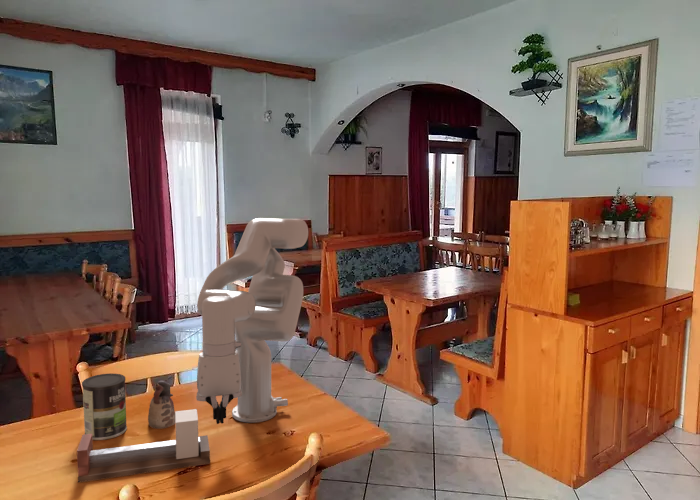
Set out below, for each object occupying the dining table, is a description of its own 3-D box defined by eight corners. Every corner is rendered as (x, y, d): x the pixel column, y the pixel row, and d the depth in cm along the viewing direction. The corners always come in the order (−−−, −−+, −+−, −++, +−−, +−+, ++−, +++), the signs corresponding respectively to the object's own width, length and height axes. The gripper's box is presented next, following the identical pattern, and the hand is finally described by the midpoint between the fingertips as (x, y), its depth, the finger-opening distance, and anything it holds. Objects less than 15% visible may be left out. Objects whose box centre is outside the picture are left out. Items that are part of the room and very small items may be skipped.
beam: (199, 448, 129) (199, 436, 129) (200, 453, 127) (200, 441, 127) (91, 463, 122) (90, 450, 121) (89, 468, 120) (89, 455, 119)
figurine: (181, 419, 148) (180, 378, 146) (165, 430, 141) (164, 387, 139) (159, 415, 150) (158, 374, 148) (142, 426, 143) (141, 383, 142)
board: (207, 445, 133) (207, 419, 132) (210, 463, 125) (209, 435, 124) (84, 462, 124) (83, 433, 124) (77, 482, 116) (76, 452, 115)
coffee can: (135, 424, 144) (133, 374, 142) (110, 442, 134) (108, 389, 132) (101, 420, 146) (99, 371, 144) (75, 438, 136) (72, 385, 134)
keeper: (197, 443, 131) (196, 409, 130) (198, 456, 125) (198, 420, 124) (176, 446, 130) (175, 411, 128) (176, 459, 124) (175, 422, 122)
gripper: (248, 341, 133) (248, 411, 135) (185, 346, 128) (187, 418, 130) (252, 350, 126) (252, 424, 128) (186, 355, 121) (188, 432, 123)
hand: (219, 421), depth 129 cm, fingers closed
